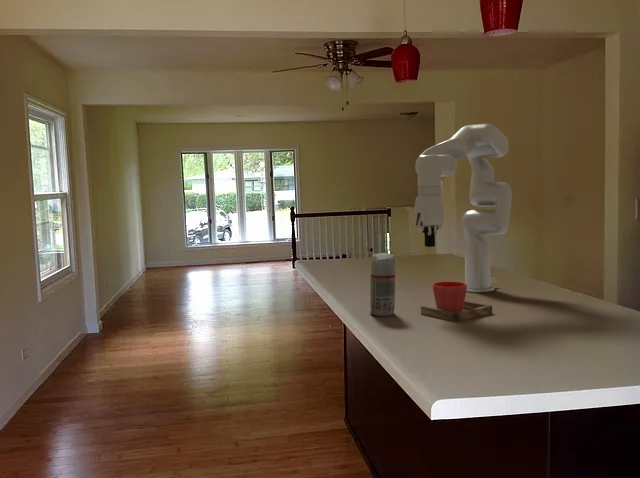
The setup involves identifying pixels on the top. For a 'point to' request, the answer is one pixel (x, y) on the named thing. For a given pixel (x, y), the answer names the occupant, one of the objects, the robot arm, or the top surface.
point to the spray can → (382, 284)
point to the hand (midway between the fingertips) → (429, 246)
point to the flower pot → (450, 295)
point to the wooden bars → (472, 312)
